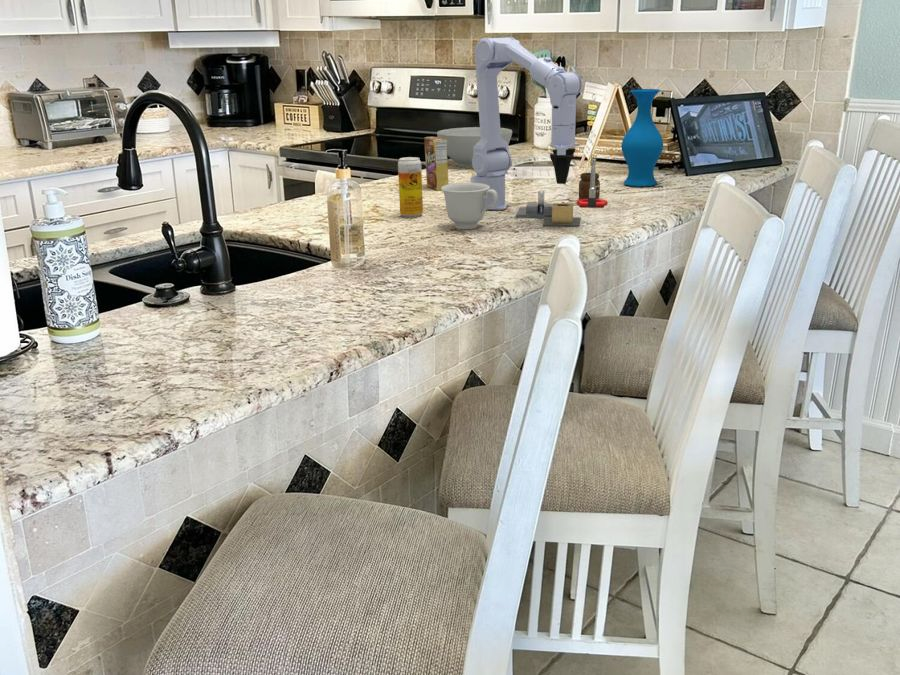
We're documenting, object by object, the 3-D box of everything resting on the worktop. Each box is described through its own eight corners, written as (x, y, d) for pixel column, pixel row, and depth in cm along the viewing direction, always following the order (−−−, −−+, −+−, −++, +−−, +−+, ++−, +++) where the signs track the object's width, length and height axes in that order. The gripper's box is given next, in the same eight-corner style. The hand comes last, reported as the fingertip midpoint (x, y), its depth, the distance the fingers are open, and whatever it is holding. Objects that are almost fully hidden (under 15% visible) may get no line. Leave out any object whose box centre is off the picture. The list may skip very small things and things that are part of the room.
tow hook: (577, 202, 237) (576, 207, 228) (578, 155, 233) (577, 159, 225) (607, 203, 236) (607, 208, 227) (609, 156, 232) (609, 159, 223)
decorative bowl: (522, 161, 309) (522, 127, 305) (496, 172, 287) (496, 136, 282) (455, 158, 320) (455, 126, 316) (425, 169, 297) (424, 134, 293)
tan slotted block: (551, 223, 209) (552, 207, 208) (553, 218, 214) (553, 203, 212) (572, 223, 208) (572, 207, 207) (572, 218, 213) (573, 203, 211)
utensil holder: (575, 199, 238) (576, 157, 234) (582, 196, 244) (584, 154, 239) (595, 201, 236) (597, 157, 232) (602, 197, 241) (604, 154, 237)
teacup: (485, 235, 200) (484, 193, 197) (432, 229, 207) (431, 189, 204) (509, 225, 210) (509, 185, 206) (458, 220, 217) (457, 181, 214)
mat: (542, 226, 208) (542, 224, 208) (545, 218, 216) (545, 216, 216) (579, 226, 206) (579, 225, 206) (580, 218, 215) (580, 217, 214)
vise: (516, 217, 218) (516, 194, 216) (520, 209, 227) (520, 187, 225) (566, 218, 216) (567, 195, 214) (568, 210, 225) (569, 188, 223)
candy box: (425, 186, 265) (423, 137, 259) (438, 185, 266) (436, 136, 261) (436, 191, 257) (434, 140, 252) (449, 189, 259) (447, 139, 253)
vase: (669, 184, 257) (675, 89, 247) (640, 189, 250) (645, 92, 241) (640, 180, 266) (644, 87, 257) (611, 184, 260) (615, 90, 250)
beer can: (406, 219, 220) (403, 161, 215) (396, 215, 225) (393, 158, 220) (426, 216, 222) (424, 158, 217) (417, 212, 227) (414, 156, 222)
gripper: (579, 127, 196) (577, 186, 201) (581, 121, 209) (579, 175, 214) (548, 127, 197) (547, 185, 202) (552, 121, 211) (551, 175, 215)
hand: (562, 180), depth 208 cm, fingers open, 7 cm apart
